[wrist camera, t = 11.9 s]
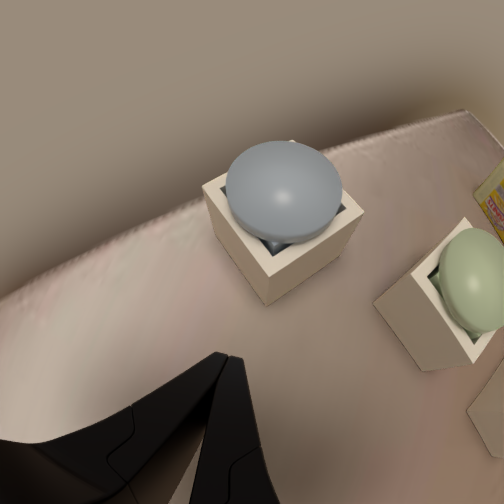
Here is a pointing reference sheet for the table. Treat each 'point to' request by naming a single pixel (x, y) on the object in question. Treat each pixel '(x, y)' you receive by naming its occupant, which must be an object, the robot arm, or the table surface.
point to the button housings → (388, 304)
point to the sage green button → (472, 281)
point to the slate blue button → (283, 193)
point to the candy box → (493, 198)
